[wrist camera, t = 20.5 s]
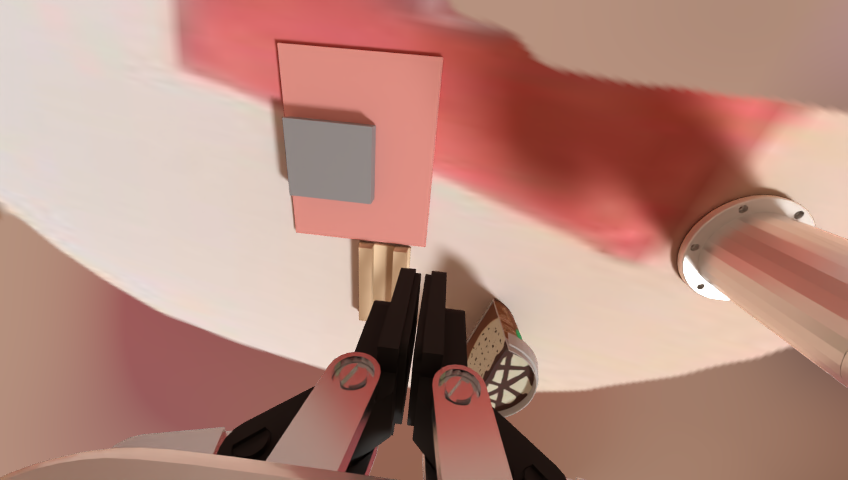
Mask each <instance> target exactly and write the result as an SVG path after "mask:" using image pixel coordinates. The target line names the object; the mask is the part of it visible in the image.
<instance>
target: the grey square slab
mask: <svg viewBox="0 0 848 480" xmlns="http://www.w3.org/2000/svg"><path fill="white" fill-rule="evenodd" d="M282 120H283V131H284V141H285V151H286V161H287V171H288V182H289V192H290V195H293V196H302V197H311V198H319V199H328V200H337V201H346V202H355V203H363V204H371V203H372V202H373V200H374V192H375V146H376V125H370V124H360V123H350V122H341V121H331V120H321V119H312V118H302V117H293V116H289V117H283V118H282Z"/></svg>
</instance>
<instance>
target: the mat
mask: <svg viewBox="0 0 848 480" xmlns="http://www.w3.org/2000/svg"><path fill="white" fill-rule="evenodd" d="M277 46H278V56H279V66H280V76H281V86H282V96H283V106H284V116H285V117H289V116H293V117H302V118H312V119H321V120H331V121H341V122H350V123H360V124H370V125H376V146H375V192H374V200H373V202H372V203H371V204H363V203H355V202H346V201H337V200H328V199H319V198H311V197H302V196H293V205H294V215H295V225H296V232H297V233H306V234H314V235H323V236H332V237H341V238H350V239H359V240H368V241H377V242H385V243H394V244H403V245H412V246H421V247H425V246H426V236H427V225H428V215H429V204H430V193H431V183H432V172H433V162H434V151H435V141H436V130H437V120H438V109H439V99H440V88H441V78H442V67H443V57H435V56H423V55H412V54H400V53H389V52H377V51H366V50H354V49H343V48H331V47H320V46H308V45H297V44H285V43H277Z"/></svg>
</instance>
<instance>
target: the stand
mask: <svg viewBox="0 0 848 480" xmlns="http://www.w3.org/2000/svg"><path fill="white" fill-rule="evenodd" d="M410 251H411V247H405V246H396V245H387V244H378V243H369V242H361V241H360V242H359V320H362V321H367V318H368V316H369V313H370V310H371V308H372V305H373V303H374V301H375V300H379V301H388V302H391V299H392V296H393V293H394V289H395V286H396V283H397V279H398V276H399V273H400V269H401V267H402V268H409V265H410Z"/></svg>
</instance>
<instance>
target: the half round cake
mask: <svg viewBox="0 0 848 480" xmlns="http://www.w3.org/2000/svg"><path fill="white" fill-rule="evenodd" d="M466 343H467V363H468V368H471V369H472V370H474V371H475V372H477V373H478V374H479V375H480V376H481V377H482V379H483V380H484V382H485V384H486V387H487V390H488V394H489V397H490V401H491V404H492V407H493V408H494V409H496V410H497V411H498V412H499V413H500V414H501V415H502V416H503V417H507V416H510V415H513V414H515V413H517V412H518V411H520V410H521V409H523V408H524V407H526V406H527V405H528V404H529V402H530V401H531V400H532V398H533V397H534V395H535V392H536V388H537V385H538V363H537V359H536V356H535V354H534V352H533V351H532V350H531V348H530V347H529V346H528V345H527V344H526V343H525V342H524V341H523V340H522V338H521V335H520V333H519V330H518V328H517V325H516V323H515V320H514V318H513V315H512V314H511V312H510V310H509V309H508V308H507V307H506V306H505V305H504V304H503V303H501V302H500V301H498V300H496V299H493V300H492V302H491V303H490V305H489V306H488V308H487V310H486V311H485V313H484V314H483V316H482V318H481V319H480V321H479V322H478V324H477V326H476V327H475V329H474V330H473V332H472V334H471V335H470V337H469V338H468V340H467V342H466Z"/></svg>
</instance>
